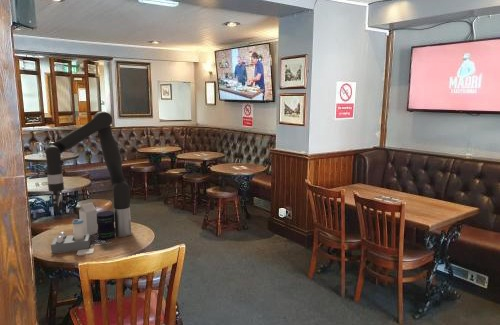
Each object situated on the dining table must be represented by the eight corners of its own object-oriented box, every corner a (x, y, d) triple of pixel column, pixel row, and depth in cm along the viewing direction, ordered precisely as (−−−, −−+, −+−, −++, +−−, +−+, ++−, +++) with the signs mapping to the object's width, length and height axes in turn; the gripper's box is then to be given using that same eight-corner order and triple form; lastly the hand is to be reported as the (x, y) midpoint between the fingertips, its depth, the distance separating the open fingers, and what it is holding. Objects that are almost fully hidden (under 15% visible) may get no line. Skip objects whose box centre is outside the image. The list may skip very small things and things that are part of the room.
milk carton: (98, 232, 224) (96, 203, 220) (87, 236, 218) (85, 205, 215) (91, 230, 227) (89, 201, 224) (80, 233, 221) (78, 203, 218)
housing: (90, 241, 209) (89, 233, 208) (88, 249, 198) (87, 240, 197) (55, 245, 203) (55, 236, 203) (51, 253, 192) (50, 244, 191)
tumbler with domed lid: (85, 244, 205) (83, 217, 203) (84, 247, 200) (82, 220, 198) (75, 245, 204) (72, 218, 201) (73, 249, 198) (71, 221, 196)
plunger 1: (66, 240, 204) (65, 231, 203) (65, 242, 201) (64, 233, 200) (60, 241, 203) (59, 231, 202) (59, 243, 200) (58, 233, 199)
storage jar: (115, 233, 222) (114, 210, 219) (115, 239, 212) (113, 215, 210) (98, 235, 218) (96, 211, 216) (97, 241, 209) (95, 216, 207)
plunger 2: (64, 245, 197) (63, 235, 196) (63, 247, 194) (62, 237, 194) (57, 245, 196) (57, 236, 195) (56, 247, 193) (56, 238, 193)
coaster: (94, 249, 198) (94, 248, 198) (93, 253, 192) (93, 252, 192) (78, 251, 195) (78, 250, 195) (76, 255, 190) (76, 254, 190)
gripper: (60, 184, 192) (63, 213, 194) (65, 178, 205) (68, 206, 208) (44, 185, 189) (48, 215, 192) (50, 179, 203) (53, 207, 205)
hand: (58, 210), depth 200 cm, fingers open, 8 cm apart
